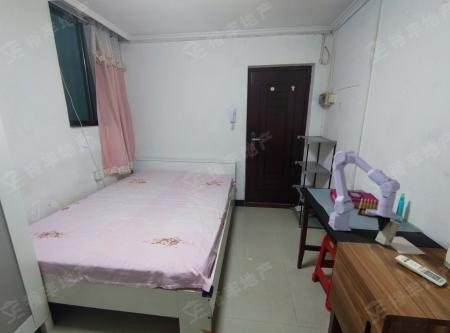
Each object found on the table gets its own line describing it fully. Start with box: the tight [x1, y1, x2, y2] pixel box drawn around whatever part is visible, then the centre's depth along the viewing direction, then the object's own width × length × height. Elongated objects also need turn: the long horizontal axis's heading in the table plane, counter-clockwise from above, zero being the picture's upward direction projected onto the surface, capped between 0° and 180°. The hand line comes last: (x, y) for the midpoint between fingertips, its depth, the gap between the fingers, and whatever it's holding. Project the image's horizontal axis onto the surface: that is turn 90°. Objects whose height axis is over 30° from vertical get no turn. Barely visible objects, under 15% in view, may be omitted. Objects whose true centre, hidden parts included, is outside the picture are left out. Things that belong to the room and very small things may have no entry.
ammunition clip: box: [357, 198, 380, 219], centre depth 137 cm, size 11×2×12 cm, turn 66°
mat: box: [389, 236, 426, 255], centre depth 108 cm, size 12×14×1 cm
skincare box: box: [375, 219, 401, 246], centre depth 107 cm, size 6×4×12 cm
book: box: [329, 188, 379, 210], centre depth 158 cm, size 21×28×8 cm
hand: (380, 230), depth 106 cm, fingers closed
